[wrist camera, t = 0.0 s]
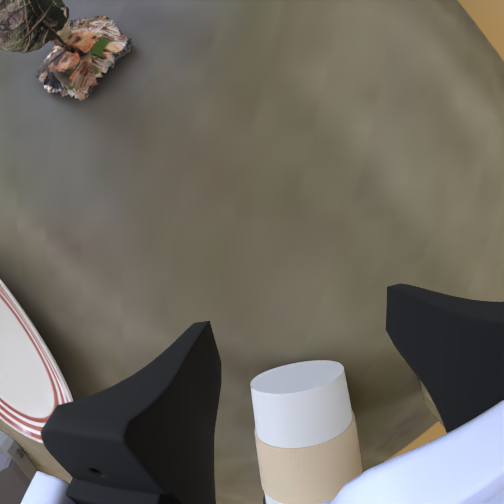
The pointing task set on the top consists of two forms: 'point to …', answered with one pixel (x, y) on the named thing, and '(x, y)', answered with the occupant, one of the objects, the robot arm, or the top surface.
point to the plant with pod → (62, 43)
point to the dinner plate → (26, 372)
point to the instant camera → (13, 471)
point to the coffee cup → (304, 432)
